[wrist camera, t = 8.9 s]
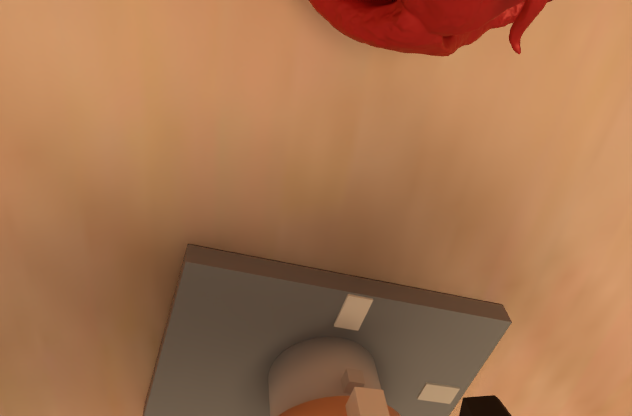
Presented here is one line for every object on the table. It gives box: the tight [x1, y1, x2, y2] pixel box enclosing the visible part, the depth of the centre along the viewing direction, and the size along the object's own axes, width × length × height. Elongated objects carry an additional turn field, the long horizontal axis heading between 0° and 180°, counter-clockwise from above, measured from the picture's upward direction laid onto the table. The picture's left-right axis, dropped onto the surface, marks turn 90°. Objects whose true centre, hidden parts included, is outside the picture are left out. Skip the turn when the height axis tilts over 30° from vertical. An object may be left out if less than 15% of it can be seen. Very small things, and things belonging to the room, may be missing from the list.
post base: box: [143, 244, 512, 416], centre depth 23 cm, size 13×9×4 cm
